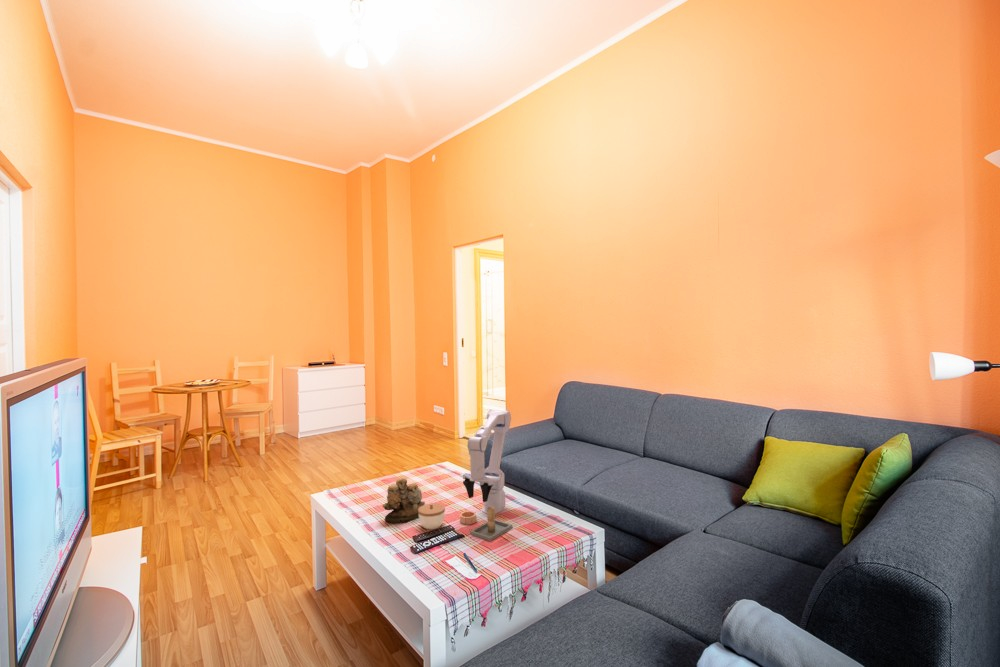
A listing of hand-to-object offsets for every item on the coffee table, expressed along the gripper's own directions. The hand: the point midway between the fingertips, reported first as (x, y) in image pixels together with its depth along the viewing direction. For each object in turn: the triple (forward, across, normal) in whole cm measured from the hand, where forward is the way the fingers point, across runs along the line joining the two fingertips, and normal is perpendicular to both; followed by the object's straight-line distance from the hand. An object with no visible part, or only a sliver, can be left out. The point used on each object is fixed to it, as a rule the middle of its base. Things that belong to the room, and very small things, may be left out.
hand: (478, 499), depth 191 cm
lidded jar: (+11, -14, -12) cm, 22 cm away
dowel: (+10, +9, -3) cm, 13 cm away
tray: (+10, +9, -2) cm, 14 cm away
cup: (+10, -5, 0) cm, 12 cm away
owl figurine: (+11, -31, -12) cm, 35 cm away
